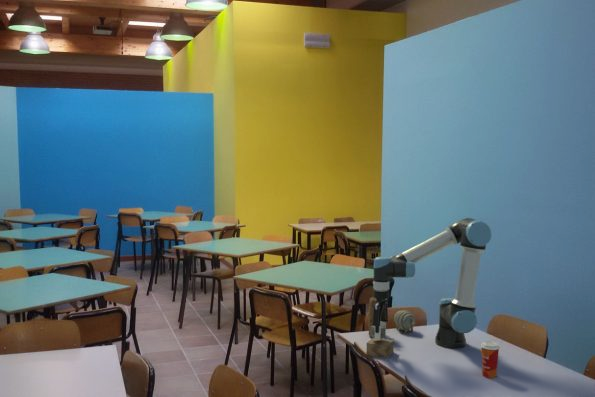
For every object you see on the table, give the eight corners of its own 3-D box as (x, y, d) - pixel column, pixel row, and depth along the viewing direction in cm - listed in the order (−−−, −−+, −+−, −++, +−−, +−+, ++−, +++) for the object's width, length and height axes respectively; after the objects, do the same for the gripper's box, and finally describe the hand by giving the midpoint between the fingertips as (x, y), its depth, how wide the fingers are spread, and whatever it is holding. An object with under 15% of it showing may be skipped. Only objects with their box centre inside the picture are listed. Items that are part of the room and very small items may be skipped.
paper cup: (477, 372, 247) (478, 340, 246) (495, 372, 247) (496, 341, 246) (483, 379, 239) (483, 346, 238) (501, 379, 239) (502, 346, 238)
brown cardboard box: (393, 352, 273) (393, 340, 272) (386, 358, 264) (386, 346, 263) (373, 349, 277) (374, 337, 277) (366, 355, 269) (366, 342, 268)
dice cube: (376, 339, 267) (376, 329, 267) (370, 336, 272) (370, 326, 272) (384, 338, 270) (385, 327, 269) (378, 335, 274) (379, 324, 274)
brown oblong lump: (383, 338, 293) (383, 300, 292) (368, 338, 294) (369, 300, 293) (382, 332, 304) (382, 295, 303) (368, 332, 305) (368, 295, 304)
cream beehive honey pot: (401, 325, 317) (402, 306, 316) (423, 333, 303) (423, 313, 302) (387, 328, 311) (387, 308, 311) (408, 336, 297) (408, 315, 296)
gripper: (380, 285, 279) (379, 330, 280) (366, 292, 262) (365, 341, 263) (395, 286, 275) (394, 333, 277) (381, 294, 258) (380, 344, 260)
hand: (380, 337), depth 270 cm, fingers closed on dice cube, 7 cm apart
